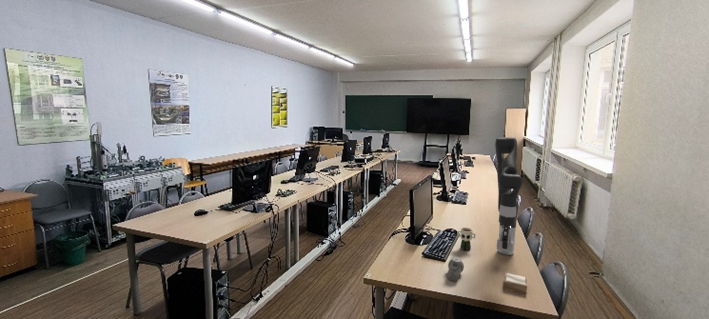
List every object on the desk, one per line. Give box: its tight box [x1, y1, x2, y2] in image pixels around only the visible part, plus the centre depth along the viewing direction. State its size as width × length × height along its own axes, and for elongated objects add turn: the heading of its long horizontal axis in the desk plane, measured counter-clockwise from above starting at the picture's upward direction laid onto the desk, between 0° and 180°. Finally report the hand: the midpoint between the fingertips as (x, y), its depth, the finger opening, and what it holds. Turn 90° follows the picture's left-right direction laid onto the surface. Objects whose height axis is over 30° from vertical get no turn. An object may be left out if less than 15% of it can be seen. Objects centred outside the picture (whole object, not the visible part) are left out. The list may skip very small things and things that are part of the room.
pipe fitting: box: [446, 256, 465, 282], centre depth 173 cm, size 12×8×10 cm
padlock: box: [496, 232, 513, 253], centre depth 164 cm, size 7×4×10 cm, turn 56°
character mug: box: [456, 227, 476, 251], centre depth 208 cm, size 11×7×13 cm, turn 66°
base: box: [503, 272, 528, 295], centre depth 164 cm, size 10×10×4 cm
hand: (504, 246), depth 165 cm, fingers closed on padlock, 4 cm apart
